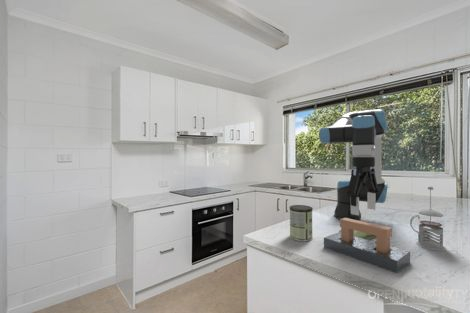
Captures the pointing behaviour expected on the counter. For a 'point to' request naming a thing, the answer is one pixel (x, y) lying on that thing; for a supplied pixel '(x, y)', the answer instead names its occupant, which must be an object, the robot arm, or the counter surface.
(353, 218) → the robot arm
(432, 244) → the french press
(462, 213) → the counter surface
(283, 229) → the counter surface
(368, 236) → the washcloth
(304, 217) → the coffee can
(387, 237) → the staple
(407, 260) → the grey slotted base block
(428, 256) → the counter surface
